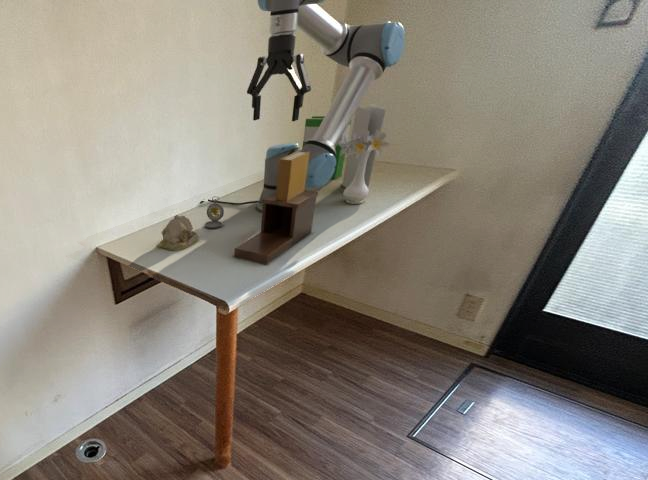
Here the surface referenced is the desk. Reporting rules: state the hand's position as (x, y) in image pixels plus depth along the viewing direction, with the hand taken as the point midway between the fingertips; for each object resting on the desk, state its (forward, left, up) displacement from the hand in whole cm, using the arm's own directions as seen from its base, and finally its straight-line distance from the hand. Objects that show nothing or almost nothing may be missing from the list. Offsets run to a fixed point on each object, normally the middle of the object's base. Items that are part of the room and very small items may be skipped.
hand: (275, 120), depth 132 cm
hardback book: (-13, +72, -35) cm, 81 cm away
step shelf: (+10, -11, -35) cm, 38 cm away
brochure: (+9, +58, -35) cm, 68 cm away
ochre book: (+10, -4, -21) cm, 23 cm away
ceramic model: (-20, -27, -35) cm, 48 cm away
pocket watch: (-19, -6, -35) cm, 40 cm away
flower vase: (+15, +41, -35) cm, 56 cm away
